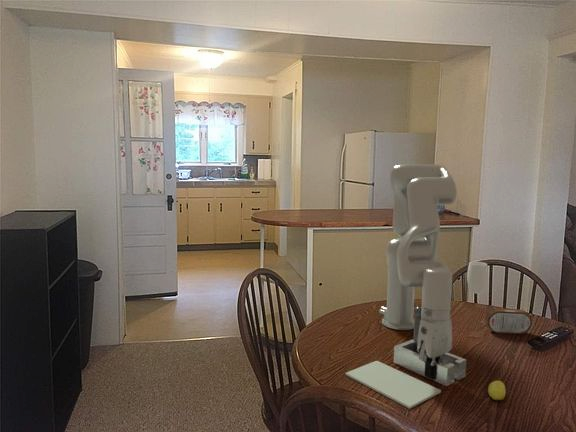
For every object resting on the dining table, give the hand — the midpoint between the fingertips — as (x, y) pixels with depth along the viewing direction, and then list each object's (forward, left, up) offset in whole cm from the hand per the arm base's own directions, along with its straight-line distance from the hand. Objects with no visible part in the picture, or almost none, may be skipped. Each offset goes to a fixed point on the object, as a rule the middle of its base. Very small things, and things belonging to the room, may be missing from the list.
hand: (432, 376), depth 130 cm
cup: (-20, +56, -1) cm, 59 cm away
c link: (-4, +4, -1) cm, 6 cm away
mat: (-5, -11, -1) cm, 12 cm away
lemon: (+16, +5, -1) cm, 17 cm away
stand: (-8, +4, -1) cm, 9 cm away
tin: (-4, +50, -1) cm, 50 cm away
